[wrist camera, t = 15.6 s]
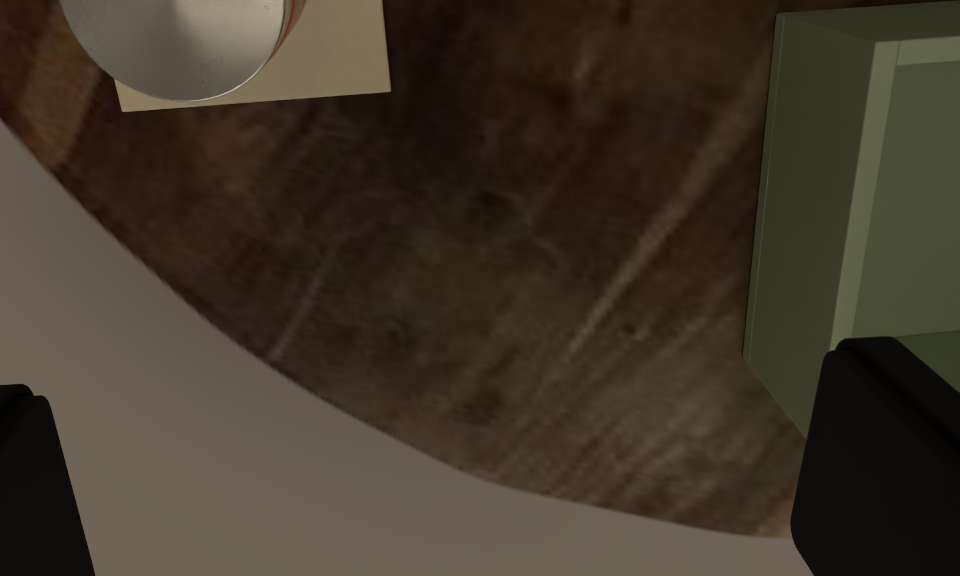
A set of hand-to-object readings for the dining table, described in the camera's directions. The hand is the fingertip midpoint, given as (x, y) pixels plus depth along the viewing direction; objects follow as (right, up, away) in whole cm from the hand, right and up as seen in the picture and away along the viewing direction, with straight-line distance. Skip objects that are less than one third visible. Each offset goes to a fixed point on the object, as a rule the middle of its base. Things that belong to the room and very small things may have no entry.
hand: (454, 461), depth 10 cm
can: (-8, +13, +19) cm, 25 cm away
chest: (+19, +7, +26) cm, 33 cm away
